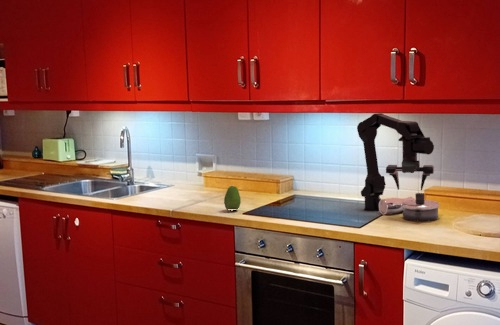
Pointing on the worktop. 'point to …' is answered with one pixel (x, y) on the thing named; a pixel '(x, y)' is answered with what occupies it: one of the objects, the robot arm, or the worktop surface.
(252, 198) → the worktop surface
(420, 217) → the pot
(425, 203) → the lid
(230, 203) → the avocado
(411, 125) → the robot arm
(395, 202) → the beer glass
